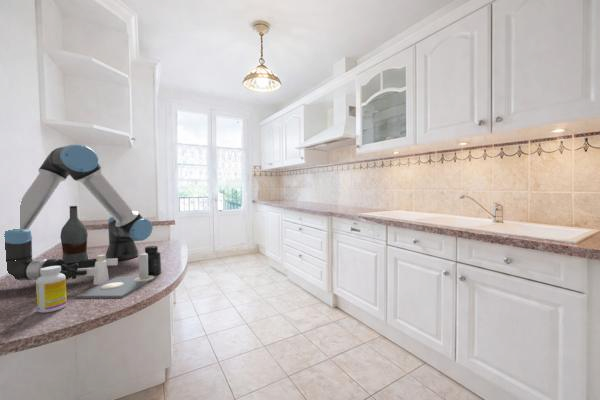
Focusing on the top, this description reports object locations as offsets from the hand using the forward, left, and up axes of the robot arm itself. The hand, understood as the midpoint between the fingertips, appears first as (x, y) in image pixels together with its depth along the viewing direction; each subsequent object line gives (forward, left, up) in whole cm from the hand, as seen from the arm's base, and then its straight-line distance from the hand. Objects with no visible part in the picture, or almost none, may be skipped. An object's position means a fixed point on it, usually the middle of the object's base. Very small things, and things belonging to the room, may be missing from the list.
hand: (108, 266), depth 103 cm
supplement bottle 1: (+23, 0, -7) cm, 24 cm away
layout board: (+5, +8, -7) cm, 12 cm away
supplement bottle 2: (-11, +11, -7) cm, 17 cm away
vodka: (-14, -26, -7) cm, 30 cm away
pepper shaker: (0, -3, -7) cm, 7 cm away
